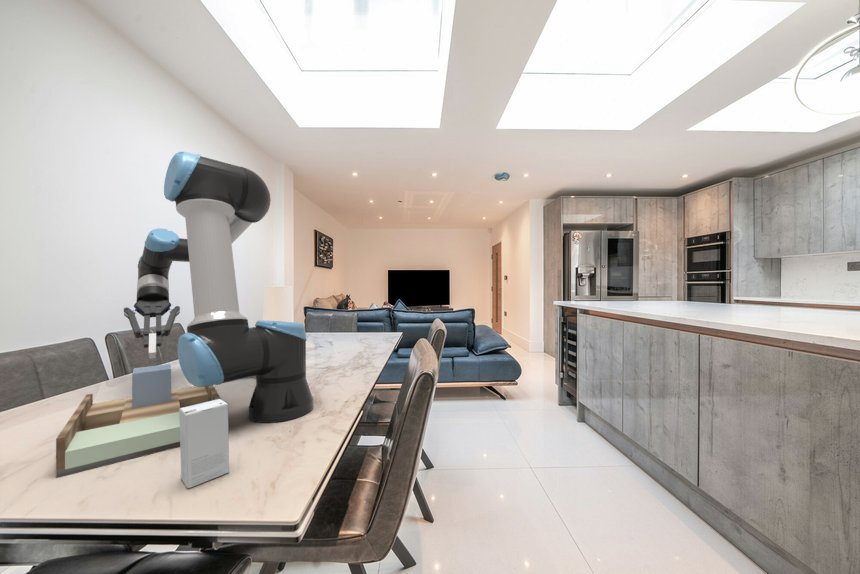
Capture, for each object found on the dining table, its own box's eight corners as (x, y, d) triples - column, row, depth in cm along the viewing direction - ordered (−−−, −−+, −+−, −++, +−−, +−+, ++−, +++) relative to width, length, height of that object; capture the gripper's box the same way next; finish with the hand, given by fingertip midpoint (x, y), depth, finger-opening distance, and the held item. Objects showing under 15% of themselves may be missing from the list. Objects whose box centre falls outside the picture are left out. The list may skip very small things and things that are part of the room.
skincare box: (221, 464, 58) (220, 397, 58) (230, 473, 55) (230, 402, 55) (178, 480, 53) (178, 406, 53) (186, 491, 50) (185, 413, 50)
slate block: (134, 400, 80) (134, 368, 80) (170, 394, 84) (170, 363, 84) (132, 408, 75) (132, 373, 75) (171, 401, 79) (171, 368, 79)
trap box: (86, 421, 77) (86, 394, 77) (208, 399, 93) (208, 376, 93) (56, 477, 54) (56, 438, 54) (224, 435, 70) (224, 404, 70)
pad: (76, 447, 62) (76, 432, 62) (212, 417, 77) (212, 405, 77) (65, 469, 55) (65, 452, 55) (218, 431, 69) (218, 418, 69)
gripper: (179, 300, 106) (182, 360, 93) (125, 301, 98) (119, 367, 85) (180, 284, 102) (183, 344, 89) (123, 283, 94) (117, 350, 81)
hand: (152, 355), depth 87 cm, fingers closed
